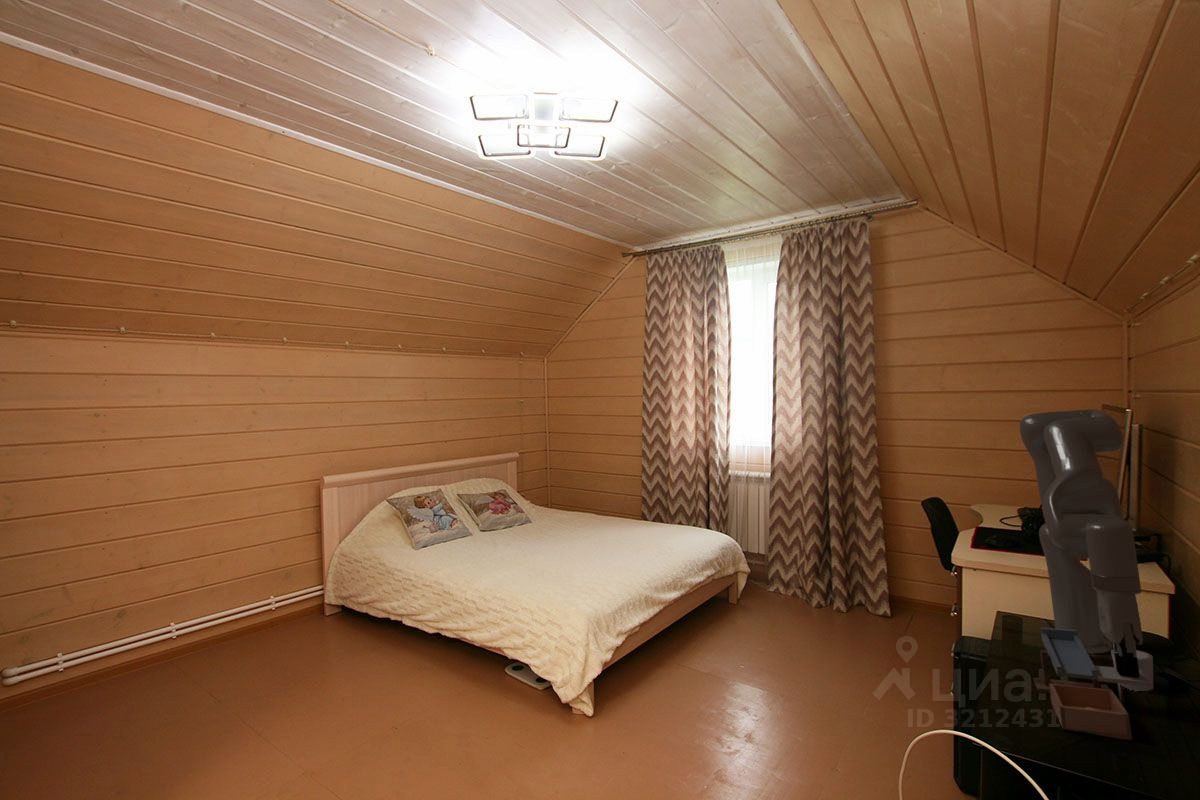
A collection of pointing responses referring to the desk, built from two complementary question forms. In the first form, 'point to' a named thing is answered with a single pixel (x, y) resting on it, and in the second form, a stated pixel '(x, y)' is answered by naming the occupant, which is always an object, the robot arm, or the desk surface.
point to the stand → (1043, 684)
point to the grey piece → (1080, 659)
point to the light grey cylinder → (1144, 664)
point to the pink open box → (1090, 711)
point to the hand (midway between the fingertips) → (1128, 674)
